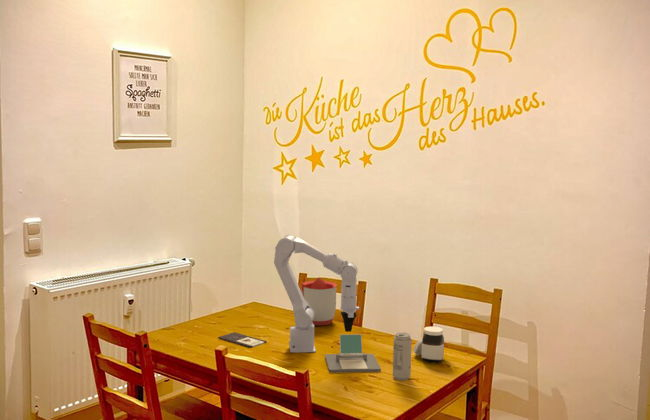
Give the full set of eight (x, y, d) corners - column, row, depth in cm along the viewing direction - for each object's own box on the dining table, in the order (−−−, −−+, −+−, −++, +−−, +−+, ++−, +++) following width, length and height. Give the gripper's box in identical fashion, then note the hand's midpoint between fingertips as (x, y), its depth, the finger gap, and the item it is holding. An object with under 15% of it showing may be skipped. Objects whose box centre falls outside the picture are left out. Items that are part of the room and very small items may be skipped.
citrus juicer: (295, 317, 294) (296, 273, 292) (334, 317, 296) (334, 273, 294) (297, 328, 279) (298, 281, 276) (338, 327, 281) (339, 281, 278)
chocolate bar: (234, 332, 270) (266, 341, 259) (234, 334, 270) (266, 343, 259) (218, 337, 263) (250, 346, 252) (218, 339, 263) (250, 348, 252)
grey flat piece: (329, 372, 227) (329, 364, 227) (324, 357, 243) (325, 349, 242) (380, 371, 229) (381, 363, 228) (373, 356, 244) (373, 348, 244)
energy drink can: (413, 379, 222) (415, 336, 220) (397, 382, 219) (398, 338, 218) (405, 373, 227) (406, 331, 225) (389, 375, 225) (390, 333, 223)
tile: (340, 354, 238) (340, 353, 237) (339, 334, 241) (339, 334, 240) (362, 353, 239) (362, 353, 238) (361, 334, 241) (361, 334, 241)
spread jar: (440, 365, 236) (441, 334, 235) (409, 361, 240) (410, 330, 238) (446, 355, 247) (447, 325, 246) (416, 351, 251) (417, 321, 250)
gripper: (362, 300, 239) (361, 336, 241) (356, 291, 254) (355, 325, 255) (342, 300, 239) (342, 337, 240) (338, 291, 253) (337, 325, 255)
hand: (348, 331), depth 248 cm, fingers closed
